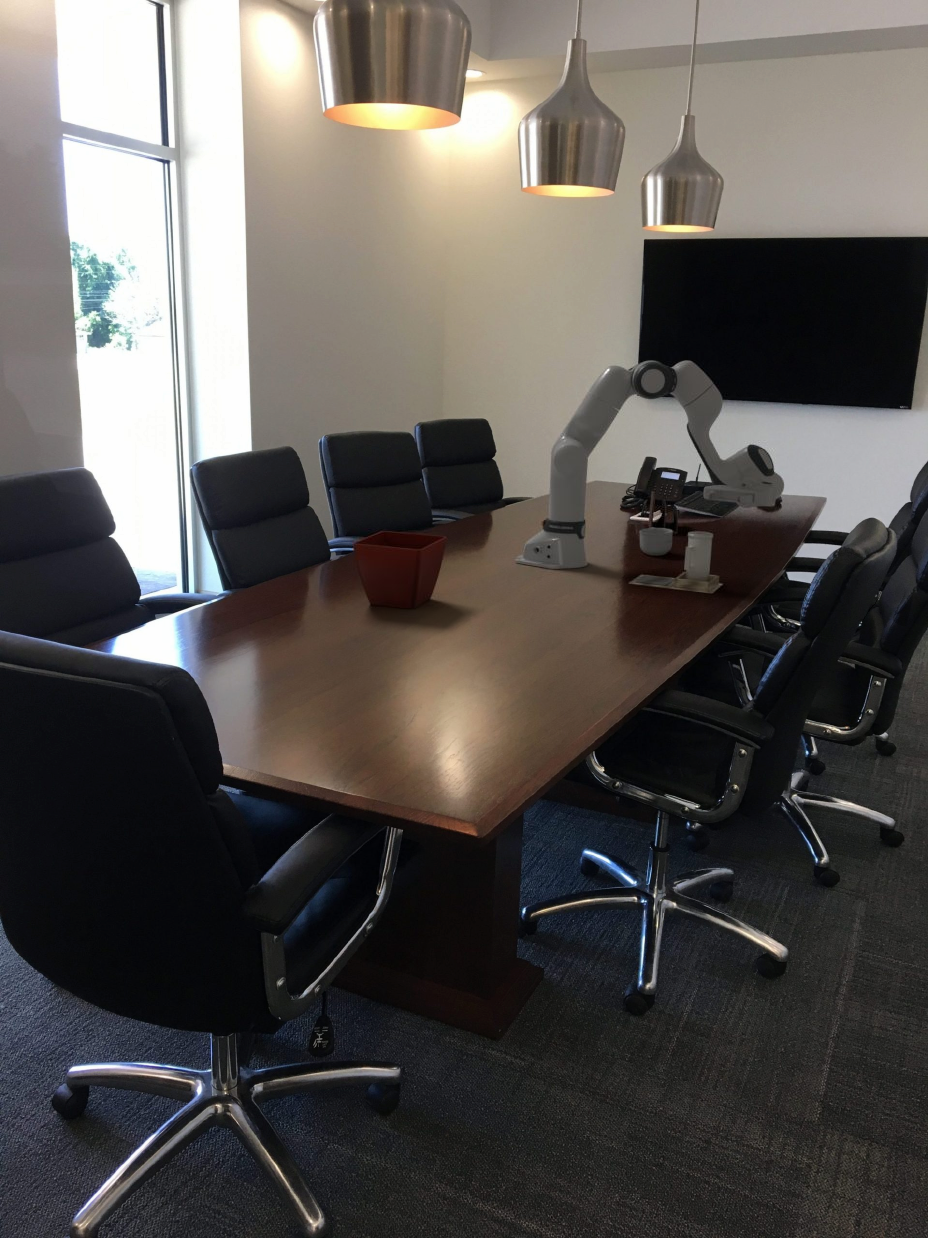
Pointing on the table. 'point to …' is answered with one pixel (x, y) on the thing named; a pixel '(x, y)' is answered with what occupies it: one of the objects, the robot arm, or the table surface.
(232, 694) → the table surface
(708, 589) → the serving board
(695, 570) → the tall white canister
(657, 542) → the teacup
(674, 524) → the letter holder
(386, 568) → the plant pot
